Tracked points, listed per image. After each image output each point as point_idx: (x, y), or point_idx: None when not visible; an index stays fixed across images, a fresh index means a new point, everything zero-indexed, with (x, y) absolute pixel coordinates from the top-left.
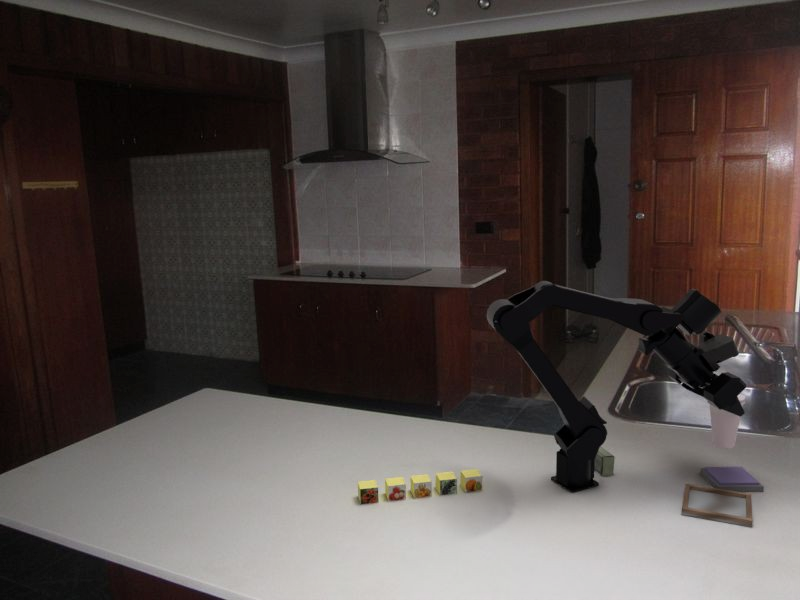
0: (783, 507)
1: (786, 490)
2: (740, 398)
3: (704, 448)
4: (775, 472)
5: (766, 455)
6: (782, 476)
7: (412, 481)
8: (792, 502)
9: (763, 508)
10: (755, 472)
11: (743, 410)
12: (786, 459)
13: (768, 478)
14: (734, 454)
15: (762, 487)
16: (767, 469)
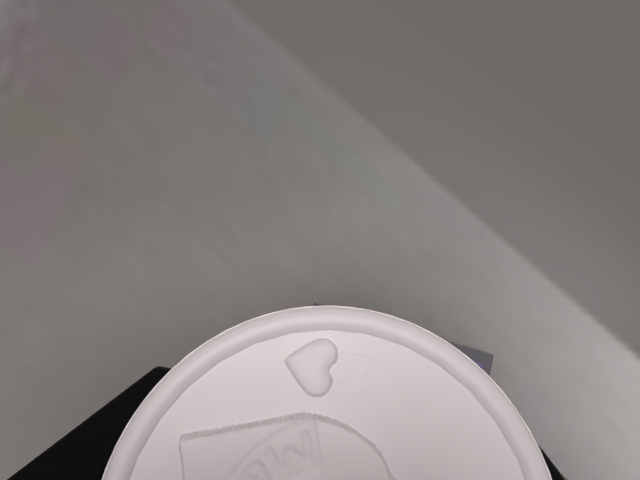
0: (619, 383)
1: (494, 261)
2: (484, 445)
3: (43, 276)
4: (346, 179)
5: (201, 94)
6: (384, 182)
7: None
8: (587, 318)
9: (615, 467)
10: (324, 251)
11: (555, 472)
12: (258, 55)
13: (385, 245)
14: (147, 202)
15: (490, 359)
16: (314, 187)
